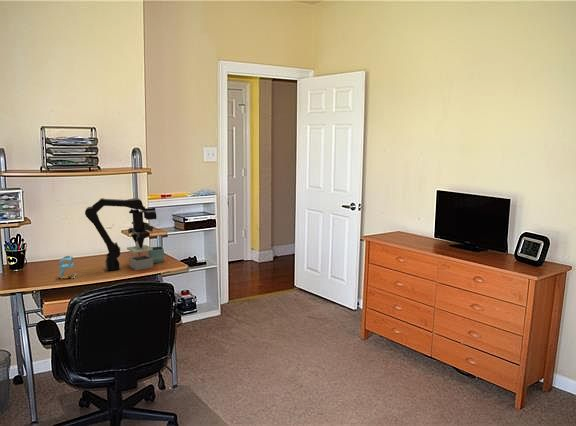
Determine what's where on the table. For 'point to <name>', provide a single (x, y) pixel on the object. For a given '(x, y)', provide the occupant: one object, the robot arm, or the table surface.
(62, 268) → the chair
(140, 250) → the lid
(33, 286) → the table surface
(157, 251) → the flower pot
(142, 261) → the storage box
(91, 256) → the table surface
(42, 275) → the table surface
